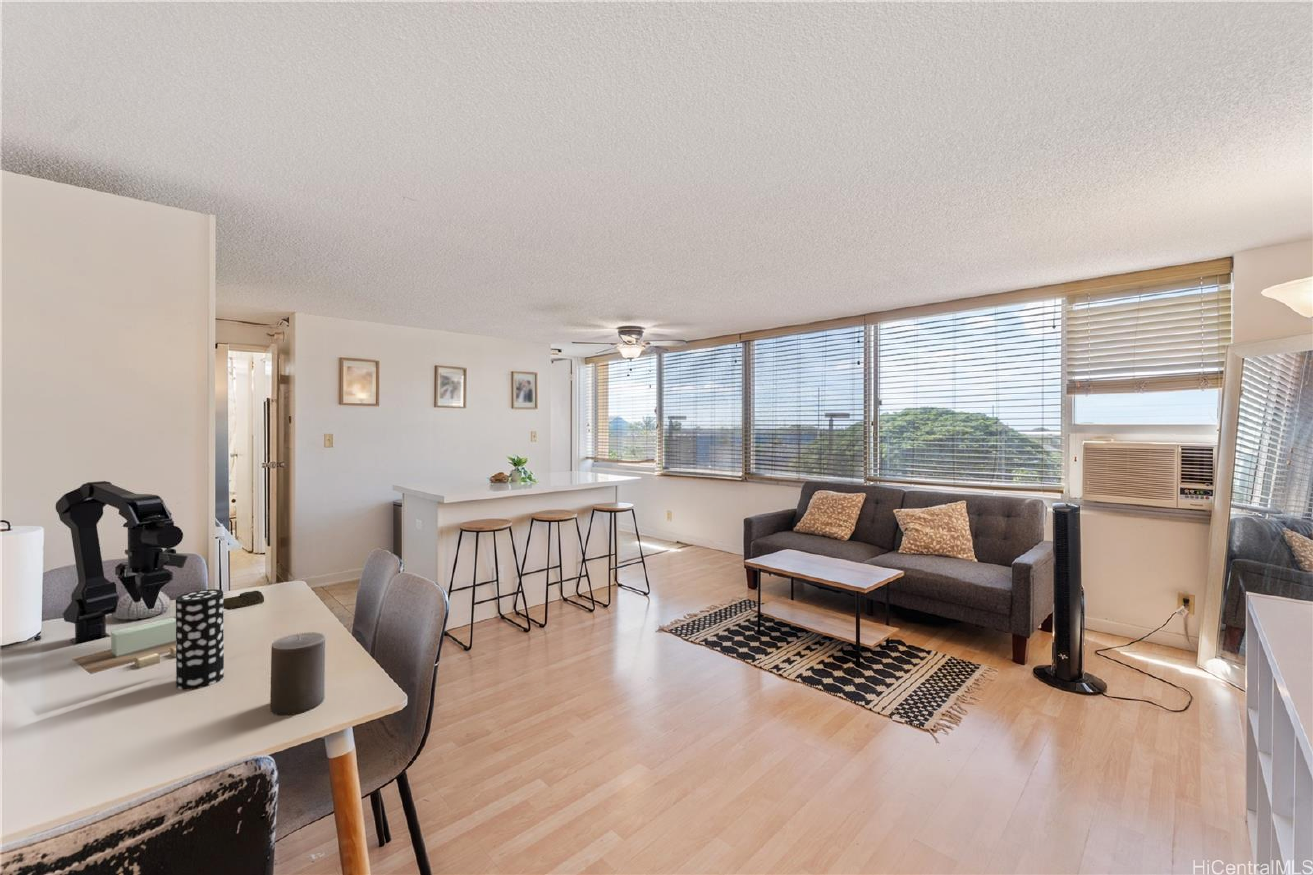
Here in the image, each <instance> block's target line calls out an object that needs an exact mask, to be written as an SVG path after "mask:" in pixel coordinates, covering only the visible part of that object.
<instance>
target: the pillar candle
mask: <svg viewBox="0 0 1313 875" xmlns="http://www.w3.org/2000/svg"><path fill="white" fill-rule="evenodd" d="M270 651H271V652H270V653H271V657H270V658H271V659H270V692H269V694H270V696H269V697H270V700H269V704H270V705H269V709H270V712H271V713H273V714H274V715H278V716H292V715H297V714H300V713H304V712H308V711H310V710H312V709H314V708H317V707H318V706H320V705H321V704H322V703H323V702H324V701H325V692H326V691H325V690H326V688H325V686H326V684H325V682H326V681H325V680H326V678H325V676H326V634H325V633H323V632H321V633H320V632H315V631H311V632H310V631H309V632H299V633H290V634H289V635H286V636H283V637H280V638H278V639H275V640H274V641H273V642H272V643H271V650H270Z"/></svg>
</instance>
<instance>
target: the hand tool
mask: <svg viewBox="0 0 1313 875" xmlns="http://www.w3.org/2000/svg"><path fill="white" fill-rule="evenodd" d="M262 603H265V596H264V594H263V593H262V592H261V591H259V590H252V591H244V592H242V593H240V594H239V595H237V596H232V597H226V598H223V610H227V609H231V608H238V607H240V608H247V607H252V606H256V605H260V604H262Z"/></svg>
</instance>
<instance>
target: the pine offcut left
mask: <svg viewBox="0 0 1313 875" xmlns="http://www.w3.org/2000/svg"><path fill="white" fill-rule="evenodd" d="M160 663H161V657H160V655H159V654H157V653H155V652H151V653H148V654H144V655H140V656H137V657H135V662H134V666H136V667H137V668H139V669H143V668H144V669H145V668H147V667H150V666H154V665H157V664H160Z"/></svg>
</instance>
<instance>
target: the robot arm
mask: <svg viewBox="0 0 1313 875" xmlns="http://www.w3.org/2000/svg"><path fill="white" fill-rule="evenodd" d="M107 505H108V506H110V507H112V508H113V507H114V508H115V509H118V515H120V516H121V517H122V518H123V519H125V520H126V522H124V523H123V525H122V527H123V528H127V549H124V554H125V555H127V561H126V562H120V563H119V564H117V565H116V566H115V567H114V569H115V572H114V574H115V575H116V576H117V579H118V580H119V581H120V583H121V584H122V586H123V587H124V589H125V590H126V591H127V593H129V595H130V596H131V598H132V599H133V601H134V602H140V601H141V597H142V599H143V601H144V603H145V605H146V607H147V609H153V608H154V606H155V603H156V600H157V597H158V595H159V592H160V591H161V589H162V588H163V587H164V586H165V585H167V584H169V583H171V581H173V580H174V576H173V574H174V572H173V571H171V570H169V569H167V568H165V566H166V567H167V566H168V567H177V568H179V569H183V568H184V567H185V565H186V561H187V560H188V555H185V554H183V553H177V550H176V549H174V548H175V547H177V546H179V544H180V543H181V542H182V540H184V539H183V538H184V532H183V531H182V529H181V527H179V526H176V525H175V521H174V520H173V518H172V512H171V511H170V510H169V509H168V507H167V506H166V503H165V501H164V500H163V499H162V497H161V496H159V495H157V494H150V493H135V492H132V491H129V490H127V489H125V488H122V487H119V486H117V485H114V484H112V483H111V482H110V481H105V480H103V481H101V480H100V481H91V482H90V481H88V482H86V483H83V484H82V485H80V487H78V488H75V489H73V490H72V491H69V492H67V493H64V494H63V495H62V496H61V497H60V498H59V499H58V500H57V501H56V503H55V511H56V513H57V514H58V517H59V520H60V522H61V523H63V524H64V525H65V526H66V527H67V528H69V530H70V533H71V534H70V535H71V541H72V547H73V553H74V560H75V566H76V568H75V569H76V573H77V580H78V583H77V585H76V586H75V587H74V589H73V591H72V593H71V594H70V596H71V602H70V603H69V605H68V606H67V608H66V609H64V612H62V616H63V620H64V622H66V623H71V624H74V632H75V633H74V637H73V638H70V640H69V641H70V642H71V643H72V644H74V645H75V646H77V645H81V644H85V643H89V642H93V641H96V640H101V639H106V638H111V634H109V633H108V632H107V623H106V622H107V621H106V620H107V618H106V616H107V615H110V614H111V613H115V612H116V608H117V604H118V600H119V598H120V596H119V594H118V592H117V584H116V582H114V581H110V580H109V579H107V578H106V577H105V572H104V564H103V559H102V558H103V557H102V551H101V546H100V538H99V531H98V524H99V522H100V520H101V519H102V517H103V515H104V507H106V506H107ZM111 615H112V614H111Z"/></svg>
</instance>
